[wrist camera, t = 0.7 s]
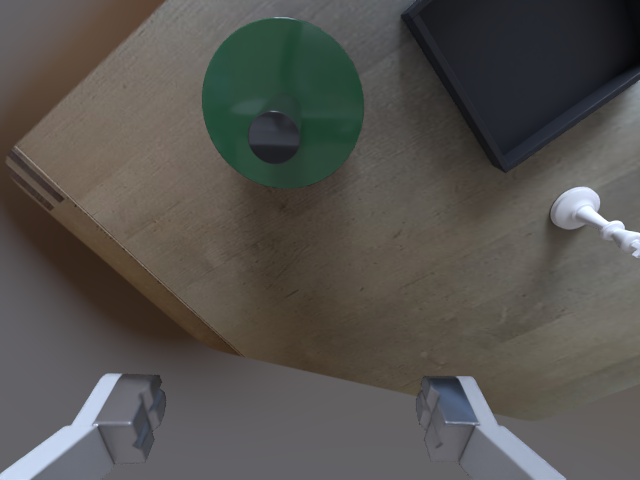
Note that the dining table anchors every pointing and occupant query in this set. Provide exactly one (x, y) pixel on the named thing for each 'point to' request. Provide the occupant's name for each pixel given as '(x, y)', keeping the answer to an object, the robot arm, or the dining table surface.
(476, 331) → the dining table surface
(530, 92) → the tray
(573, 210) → the chess piece
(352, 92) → the lid
